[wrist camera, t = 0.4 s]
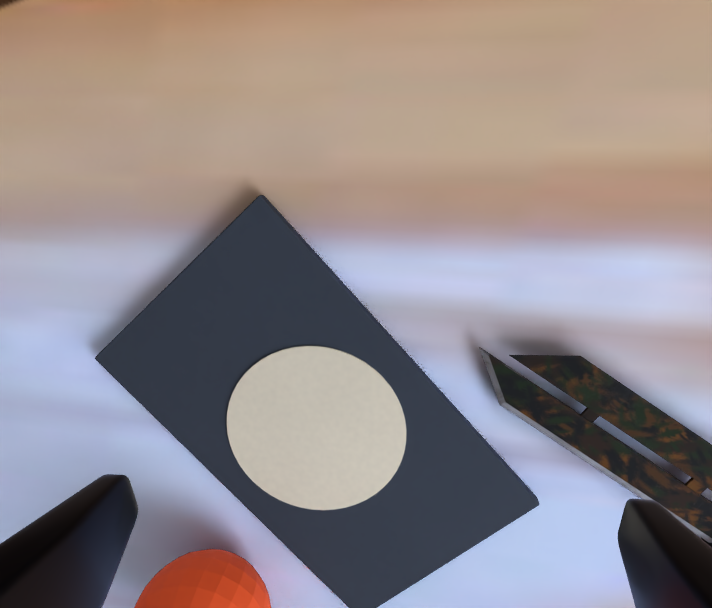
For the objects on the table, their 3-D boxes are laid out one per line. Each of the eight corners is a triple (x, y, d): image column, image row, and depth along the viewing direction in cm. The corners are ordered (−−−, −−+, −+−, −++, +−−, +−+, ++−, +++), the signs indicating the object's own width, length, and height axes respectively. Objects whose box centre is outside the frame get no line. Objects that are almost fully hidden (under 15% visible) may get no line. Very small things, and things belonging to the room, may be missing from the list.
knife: (457, 365, 23) (459, 377, 22) (555, 262, 22) (565, 268, 20) (825, 661, 26) (848, 688, 24) (942, 589, 24) (974, 614, 22)
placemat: (360, 609, 28) (359, 620, 27) (100, 354, 25) (92, 359, 24) (537, 497, 25) (540, 506, 24) (263, 194, 22) (258, 194, 21)
